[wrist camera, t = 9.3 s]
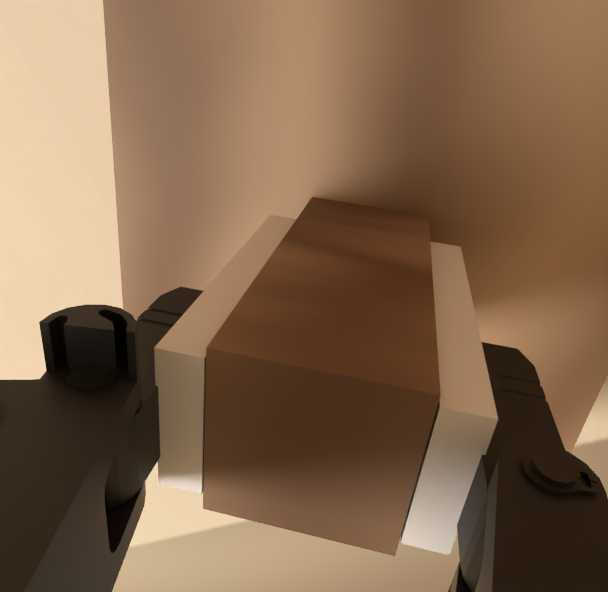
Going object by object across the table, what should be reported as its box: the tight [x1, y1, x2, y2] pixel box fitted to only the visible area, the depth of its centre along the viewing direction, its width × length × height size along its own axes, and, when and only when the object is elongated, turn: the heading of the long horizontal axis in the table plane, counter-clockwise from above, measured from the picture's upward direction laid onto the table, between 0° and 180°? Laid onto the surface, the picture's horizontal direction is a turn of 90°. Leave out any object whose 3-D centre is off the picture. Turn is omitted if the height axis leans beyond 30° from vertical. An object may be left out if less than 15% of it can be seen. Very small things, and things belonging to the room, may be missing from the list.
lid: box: [103, 0, 608, 556], centre depth 12 cm, size 15×15×9 cm
